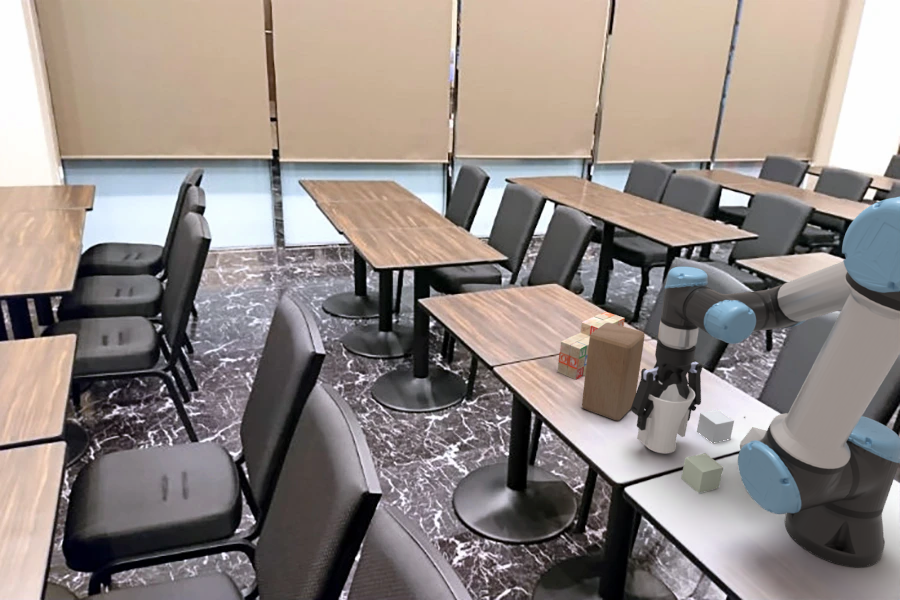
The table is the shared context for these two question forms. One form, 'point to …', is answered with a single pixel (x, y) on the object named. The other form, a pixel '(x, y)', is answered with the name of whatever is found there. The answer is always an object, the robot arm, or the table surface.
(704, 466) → the sage cube
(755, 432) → the grey block
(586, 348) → the stack of blocks
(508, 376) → the table surface
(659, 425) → the cup
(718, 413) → the light gray cube
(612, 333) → the block
